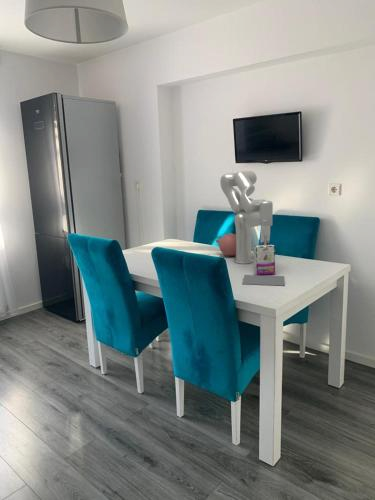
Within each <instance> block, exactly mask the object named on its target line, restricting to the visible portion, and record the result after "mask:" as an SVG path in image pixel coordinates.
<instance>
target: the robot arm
mask: <svg viewBox="0 0 375 500" xmlns="http://www.w3.org/2000/svg"><path fill="white" fill-rule="evenodd" d="M219 180H220V187H221V190H222V192H223V194H224V195H225V197H226V198H227V201H228V204H229V205H230V209H231V210H232V212H233V213H234V214H236V215H235V216H234V226H235V235H236V255H235V258H234V259H233V262H234V263H236V264H239V265H240V264H241V265H243V264H252V263H254V258H252V233H251V231H250V229H249V228H252V227H253V228H254V227H255V228H256V227H259V226H260V243H261V244H262V245H269V242H270V238H271V227H272V226H273V209H274V208H273V207H274V205H273V201H270V200H266V199H252V198H251V197H250V196H251V195H252V194H254V192H255V189H256V188H255V187H256V186H255V184H256V182H257V180H258V179H257V174H256V173H255V172H254V171H252V170H247V171H245V170H243V171H238V172H232V173H231V172H230V173H225V174H223V175H222V176H221V177H220V179H219ZM235 187H237V188H238V190H239V191H240V192H239V191H238V190H237V189H236V188H235ZM240 193H241V194H240ZM249 197H250V198H249Z"/></svg>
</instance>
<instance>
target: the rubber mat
mask: <svg viewBox="0 0 375 500" xmlns="http://www.w3.org/2000/svg"><path fill="white" fill-rule="evenodd" d="M285 283H286V281H285V275H256V274H244V276H243V280H242V283H241V284H242V285H244V286H245V285H247V286H269V287H270V286H271V287H272V286H273V287H274V286H276V287H286V284H285Z"/></svg>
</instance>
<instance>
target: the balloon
mask: <svg viewBox="0 0 375 500" xmlns="http://www.w3.org/2000/svg"><path fill="white" fill-rule="evenodd" d="M215 242H216V243H217V245H218V247H219V250H220V253H222V254H223V255H224V256H227V257H233V256H234V257H235V256H236V233H227V234H223V236H222V237H221V238H216V239H215Z"/></svg>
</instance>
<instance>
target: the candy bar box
mask: <svg viewBox="0 0 375 500" xmlns="http://www.w3.org/2000/svg"><path fill="white" fill-rule="evenodd" d="M275 249H276V247H275V245H274V244H268V245H263V244H261V245H253V273H254V274H253V275H266V276H268V275H275V274H276V255H275V253H276V250H275Z"/></svg>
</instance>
